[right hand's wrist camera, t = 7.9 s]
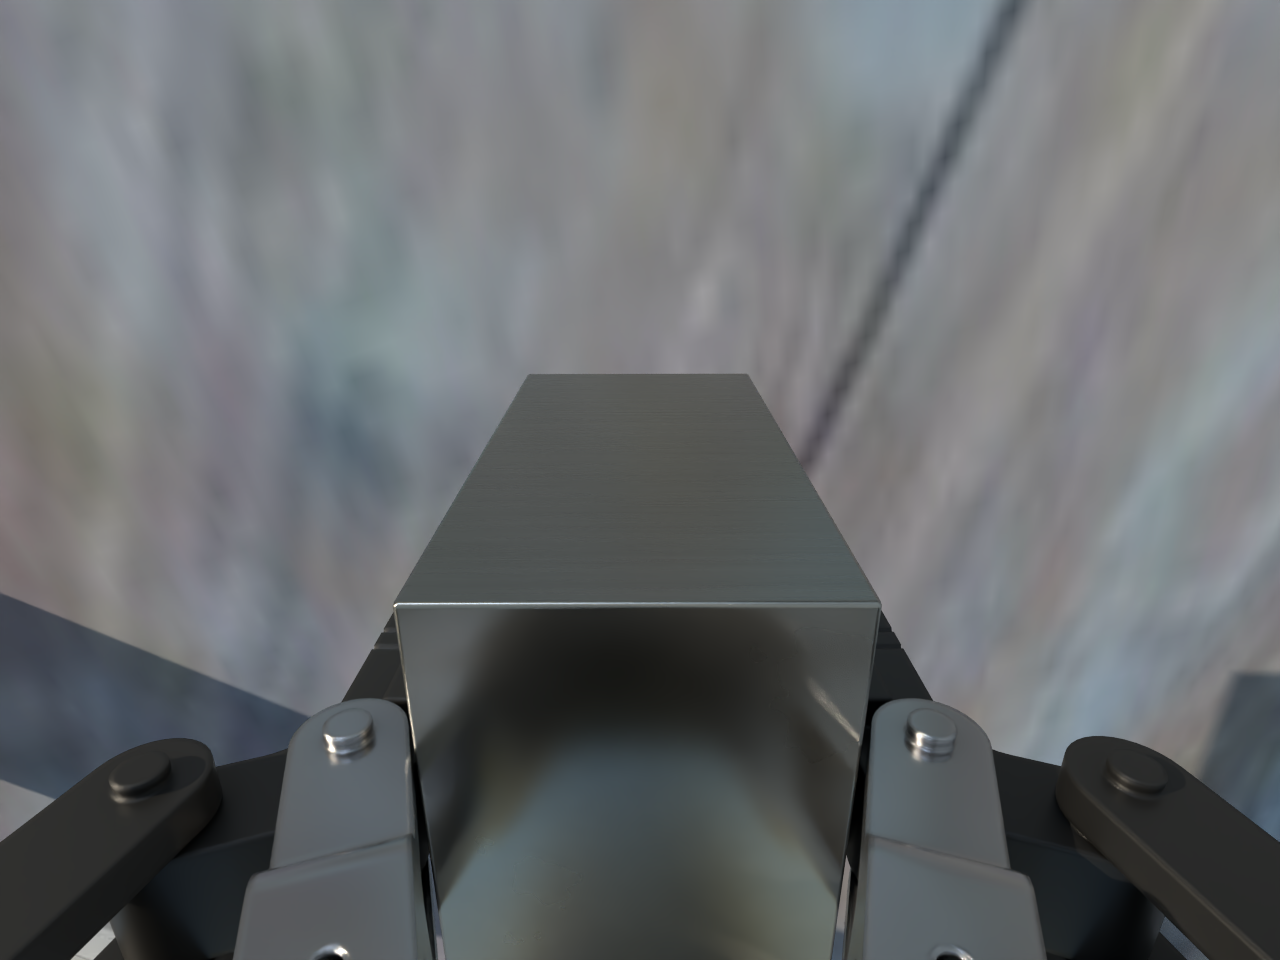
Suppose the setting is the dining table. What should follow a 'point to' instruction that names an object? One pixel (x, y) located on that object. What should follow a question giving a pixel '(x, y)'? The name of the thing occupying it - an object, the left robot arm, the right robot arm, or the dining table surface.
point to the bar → (637, 681)
